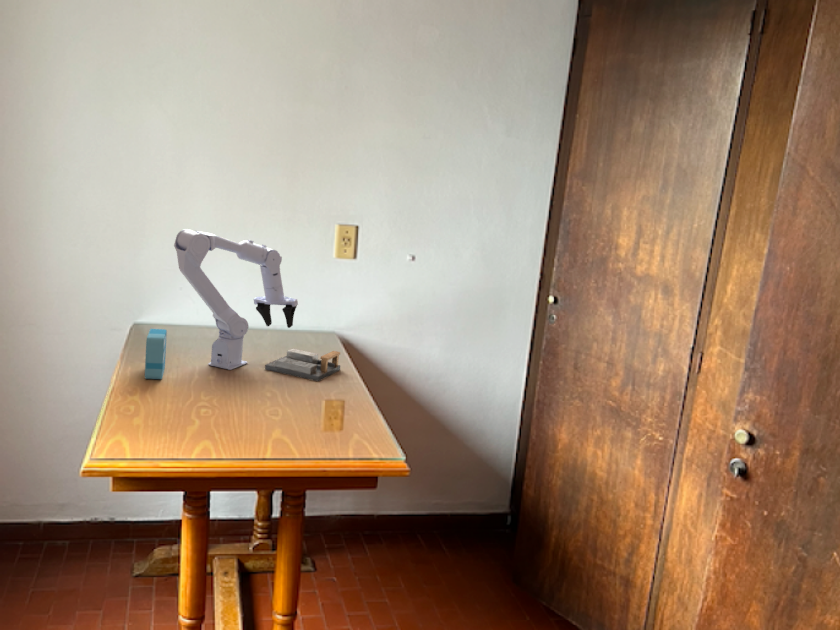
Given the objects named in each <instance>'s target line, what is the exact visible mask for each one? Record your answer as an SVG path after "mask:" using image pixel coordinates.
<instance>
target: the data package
mask: <svg viewBox="0 0 840 630" xmlns="http://www.w3.org/2000/svg"><path fill="white" fill-rule="evenodd" d="M167 332H168V331H167V329H165V328H164V329H163V328H161V329H160V328H150V329H149V330H148V333H147V336H146V340H145V342H146V343H145V359H144V360H145V361H144V362H145V363H144V379H146V380H163V376H164V373H165V367H166V354H167V353H166V349H167V336H168V335H167V334H168V333H167Z"/></svg>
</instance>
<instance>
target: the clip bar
mask: <svg viewBox="0 0 840 630" xmlns="http://www.w3.org/2000/svg"><path fill="white" fill-rule="evenodd" d="M286 356H287V357H286V358H290V359H294V360H299V361H303V362H308V363H312V364H317V361H318V360H319V359H318V358H319V353H316V352H310V351H307V350H303V349H302V350H301V349H297V348H290V349H288V350H286Z"/></svg>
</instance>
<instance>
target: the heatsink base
mask: <svg viewBox="0 0 840 630" xmlns="http://www.w3.org/2000/svg"><path fill="white" fill-rule="evenodd" d="M340 355H341V351H336V350H332V351H330V352H328V353H326V354H323V355H321V356H320V358H319V359H318V361H317V364H312V363H308V362H303V361H299V360H294V359H290V358H286V357H287V355H285V356H283V357H279V358H277V359H275V360H273V361H270V362H267V363H266V364H265V366H264V370H267V371H270V372H276V373H279V374H283V375H288V376H293V377H296V378H302V379H306V380H309V381H314V382H320V381H322V380H323V379H326V378H328V377H330V376H332V375H333V374H335V373H338V372H339V371H341V365H339V359H340ZM329 360H331V361H329Z"/></svg>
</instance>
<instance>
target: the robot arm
mask: <svg viewBox="0 0 840 630" xmlns="http://www.w3.org/2000/svg"><path fill="white" fill-rule="evenodd" d="M173 247H174V249H175V251H176V256H177V263H178V264H177V265H178V269H179V271H180V273H181V274H182V275H183V277H184V278H185V279H186V280H187V282H188V283H189V284H190V286H191V287H192V289H194V291H195V292H196V293H197V294H198V296H199V297H200V298H201V299H202V301H203V302H204V304H205V305H206V306H207V307H208V308H209V310H210V311H211V312H212V317H213V319H214V320H215V325H216V327H217V329H218V337H217V339H216V340H214V341H213V343H212V344H211V353H210V354H211V355H210V356H211V358H210V362H208V363H207V364H208V365H209V366H212V367H216V368H221V369H225V370H229V371H231V370H234V369H236V368H239V367H241V366H244V365H246V364H248V361H246V360H243V349H244V347H243V346H244V338H245V335H247V333H248V330H249V322H248V321H247V319H246V318H245V317H242V316H240V315H239V314H238V312H236V311H235V310H234V309H233V308H232V307H231V306H230V305H229V304H228V303H227V301H226V300H225V298H224V297H223V296H222V295H221V293H220V292H219V290H218V289H217V287H215V285H214V284H213V283H212V281H211V280H210V278H209V277H208V276H207V274H206V273H205V272H204V271H203V269H202V268H201V265H202V263H203V261H204V259H205V258H206V256H207V254H208V252H210V251H211V252H212V251H214V250H215V249H220V250H223V251H227V252H232V253H235V254H236V256H237V258H238V259H239V260H242V261H245V262H250V263H253V264H256V265H259V267H260V268H259V269H260V274H261V281H262V284H263V291H264V295H263V296H256V297H254V298H253V304H254V305H257V306H256V307H255V310H256V312H258V314H259V315H260V316H261V317H262V319H263V321H264V323H265V326H266V327H270V326H271V325H272V323H273V322H272V316H271V306H284V307H283V308H282V309H281V310H282V312H283V314H284V317H285V322H286V327H287V329H290V328H291V327H292V326H293V325H294V324H293V323H294V316H295V311H296V308H297V306H299V304H298V298H293V297H289V296H285V294H284V286H283V280H282V274H281V268H280V267H281V264H282V260H283V259H282V258H283V257H282V256H281V255H280V253H279V251H278V250H276V249H272V248H270V247H268V246H267V245H266V244H257V243H255V242H254V240H252V239H247V240H245V239H244V240H242V241H240V242H237V241H234V240H231V239H228V238H225V237H222V236H219V235H216V234H214V233H211V232H207V231H206V232H205V231H200V230H195V231H194V230H192V229H190V228H184V229H181V230H180V231H179V232H178V233H177V234H176V237H175V239H174V244H173Z"/></svg>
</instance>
